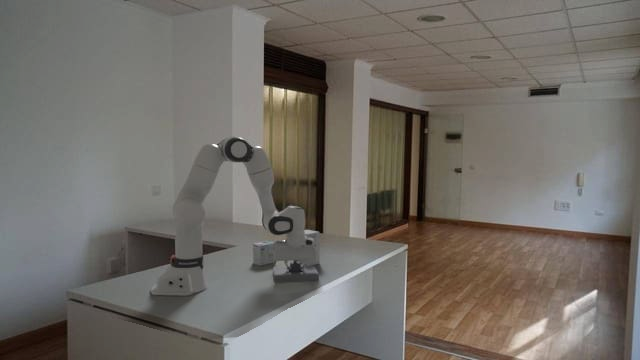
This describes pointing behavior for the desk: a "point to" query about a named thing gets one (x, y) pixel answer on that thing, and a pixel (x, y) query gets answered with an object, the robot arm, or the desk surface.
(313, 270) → the socket plate
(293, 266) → the plug
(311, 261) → the supplement box
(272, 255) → the light bulb box
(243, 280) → the desk surface
